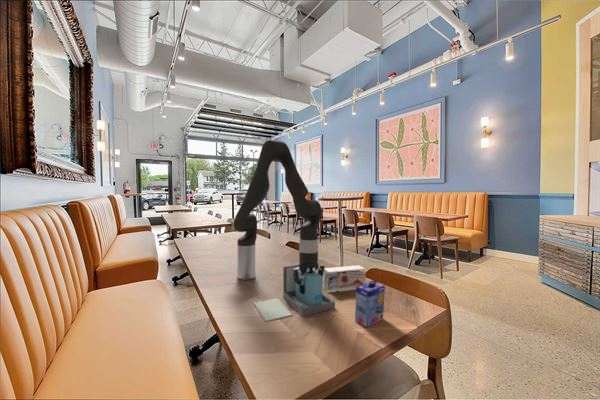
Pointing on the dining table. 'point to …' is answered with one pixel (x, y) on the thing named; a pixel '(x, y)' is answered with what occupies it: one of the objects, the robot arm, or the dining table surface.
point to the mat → (272, 309)
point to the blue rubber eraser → (311, 289)
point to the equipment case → (290, 296)
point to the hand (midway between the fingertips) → (308, 292)
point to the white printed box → (343, 278)
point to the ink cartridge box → (369, 303)
